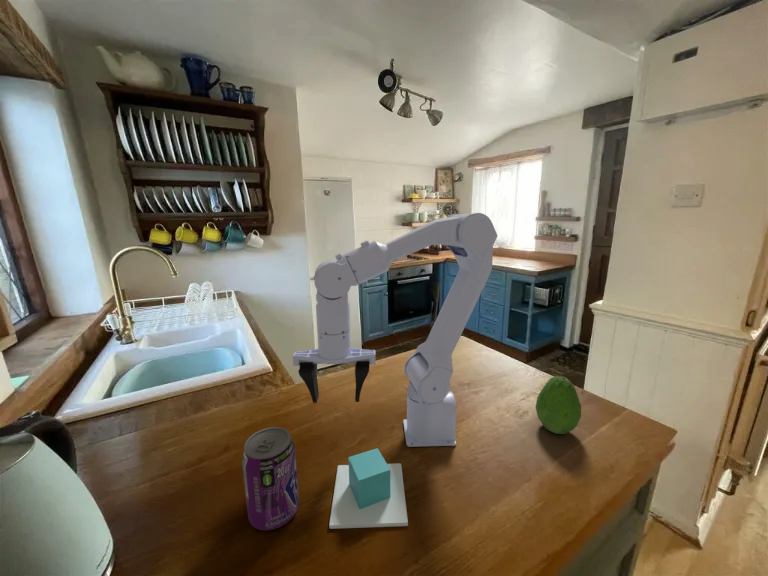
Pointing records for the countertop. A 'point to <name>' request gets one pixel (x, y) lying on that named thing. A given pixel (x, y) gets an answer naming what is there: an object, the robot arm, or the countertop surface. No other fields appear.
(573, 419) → the avocado
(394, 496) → the plate
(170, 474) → the countertop surface
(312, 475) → the countertop surface
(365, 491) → the cube
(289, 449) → the beverage can
